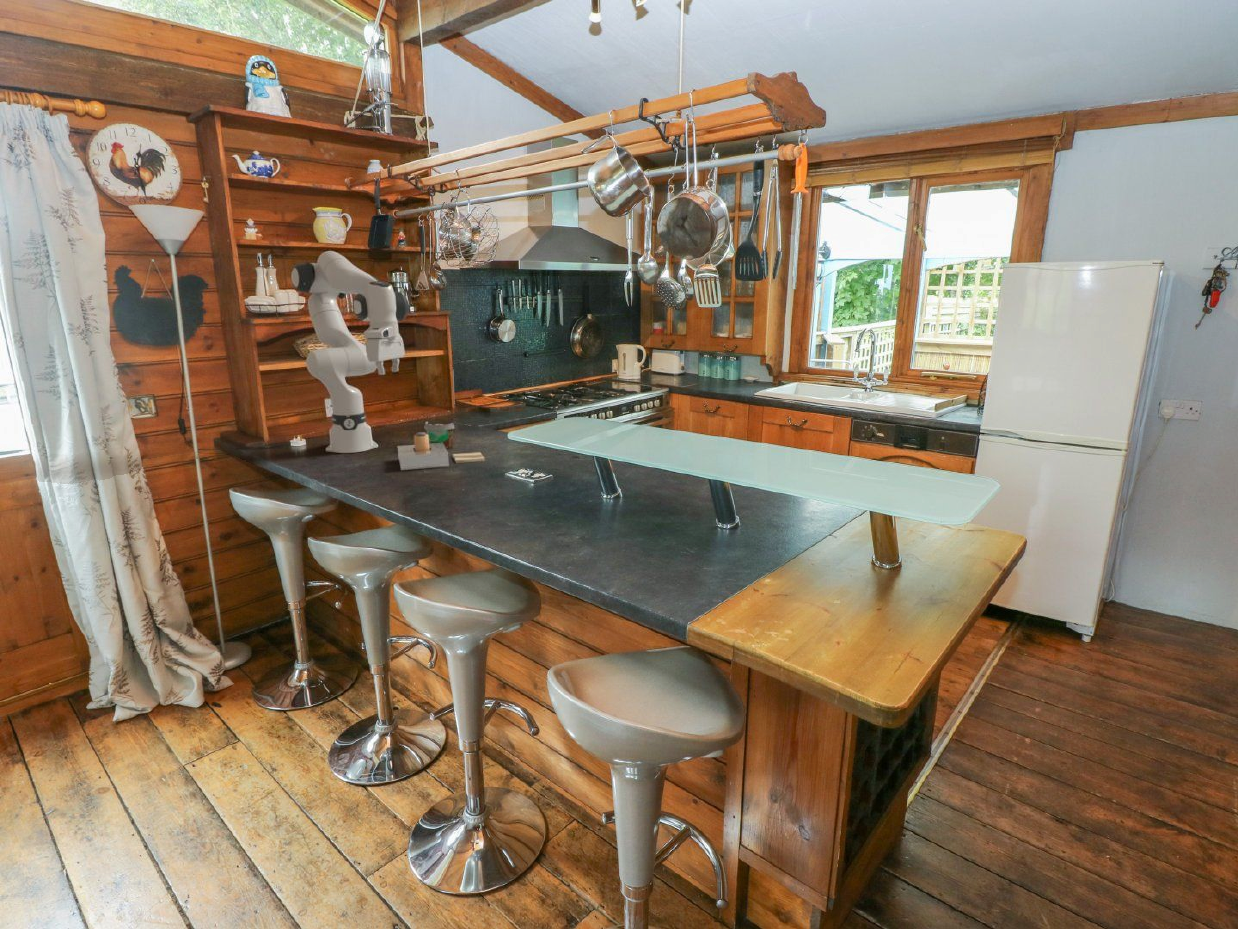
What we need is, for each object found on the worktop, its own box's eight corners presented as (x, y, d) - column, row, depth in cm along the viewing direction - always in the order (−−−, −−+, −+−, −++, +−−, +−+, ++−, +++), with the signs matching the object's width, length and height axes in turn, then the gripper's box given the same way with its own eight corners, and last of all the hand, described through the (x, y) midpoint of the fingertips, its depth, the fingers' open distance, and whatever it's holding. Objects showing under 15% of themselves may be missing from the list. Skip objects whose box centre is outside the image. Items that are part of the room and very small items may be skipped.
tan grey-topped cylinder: (415, 461, 239) (413, 432, 237) (429, 460, 241) (427, 431, 238) (416, 465, 235) (414, 435, 232) (431, 463, 237) (428, 434, 234)
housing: (398, 459, 243) (397, 446, 241) (443, 455, 248) (442, 442, 247) (401, 470, 228) (399, 456, 227) (448, 466, 233) (447, 452, 232)
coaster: (453, 456, 246) (452, 454, 246) (480, 454, 250) (480, 451, 249) (456, 463, 237) (456, 460, 237) (484, 460, 240) (484, 458, 240)
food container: (419, 449, 257) (417, 424, 255) (428, 446, 263) (426, 421, 260) (447, 451, 254) (445, 426, 251) (456, 448, 260) (454, 423, 257)
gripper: (390, 330, 233) (394, 369, 237) (360, 333, 214) (365, 376, 217) (407, 330, 233) (410, 369, 236) (379, 332, 213) (383, 376, 216)
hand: (388, 373), depth 226 cm, fingers open, 8 cm apart
